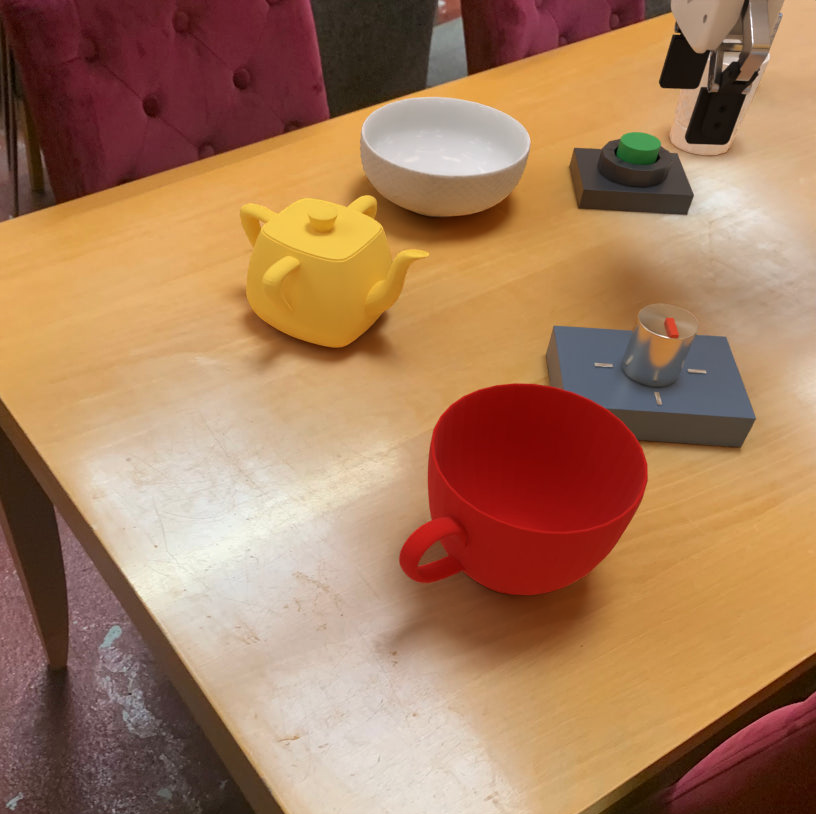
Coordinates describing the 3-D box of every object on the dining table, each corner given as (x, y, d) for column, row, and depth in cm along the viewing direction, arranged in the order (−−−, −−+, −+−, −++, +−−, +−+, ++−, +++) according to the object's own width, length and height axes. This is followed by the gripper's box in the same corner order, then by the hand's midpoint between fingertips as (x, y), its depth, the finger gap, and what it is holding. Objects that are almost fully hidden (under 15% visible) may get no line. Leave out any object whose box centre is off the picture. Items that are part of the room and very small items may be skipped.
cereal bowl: (465, 262, 85) (476, 193, 80) (324, 205, 92) (327, 138, 86) (546, 191, 94) (561, 125, 89) (413, 144, 101) (420, 80, 95)
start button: (652, 149, 93) (657, 132, 92) (659, 168, 90) (664, 151, 89) (613, 147, 93) (618, 130, 92) (619, 165, 91) (623, 149, 89)
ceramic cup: (330, 568, 60) (335, 464, 53) (506, 462, 67) (533, 356, 60) (464, 705, 53) (493, 607, 46) (645, 571, 60) (695, 467, 53)
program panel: (713, 365, 75) (727, 334, 73) (741, 447, 68) (757, 417, 66) (545, 354, 76) (553, 323, 73) (557, 434, 69) (566, 403, 67)
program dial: (617, 349, 71) (634, 298, 68) (672, 353, 71) (693, 301, 68) (626, 385, 68) (644, 333, 65) (684, 388, 68) (706, 337, 65)
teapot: (387, 270, 84) (396, 166, 76) (416, 355, 75) (431, 247, 68) (242, 280, 83) (236, 175, 75) (255, 368, 74) (251, 259, 66)
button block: (671, 172, 97) (683, 136, 94) (687, 215, 91) (700, 178, 88) (569, 166, 98) (577, 130, 95) (578, 209, 92) (588, 172, 89)
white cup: (740, 161, 99) (777, 68, 91) (667, 155, 100) (698, 62, 92) (729, 129, 104) (763, 39, 97) (660, 124, 105) (688, 33, 97)
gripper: (689, -181, 64) (624, 67, 77) (755, -114, 52) (665, 165, 65) (796, -179, 63) (712, 70, 76) (886, -111, 52) (769, 169, 65)
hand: (690, 113), depth 71 cm, fingers open, 9 cm apart
